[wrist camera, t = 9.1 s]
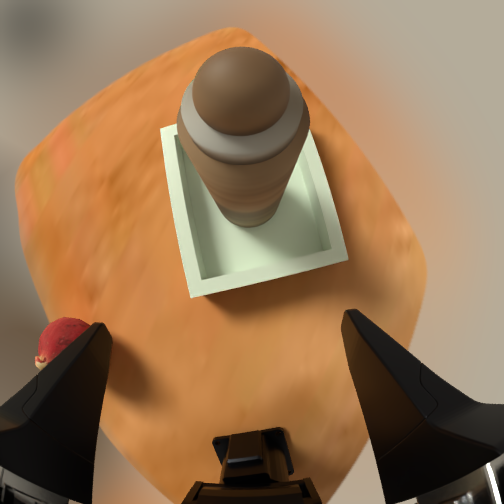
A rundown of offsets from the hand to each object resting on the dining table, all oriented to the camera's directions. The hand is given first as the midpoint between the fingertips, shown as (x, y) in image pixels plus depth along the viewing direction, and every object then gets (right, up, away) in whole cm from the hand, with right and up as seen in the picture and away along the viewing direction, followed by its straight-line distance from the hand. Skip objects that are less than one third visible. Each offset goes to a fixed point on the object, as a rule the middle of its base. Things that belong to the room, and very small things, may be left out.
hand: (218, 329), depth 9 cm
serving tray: (+1, +7, +13) cm, 14 cm away
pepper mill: (+1, +7, +12) cm, 13 cm away
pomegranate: (-14, -6, +12) cm, 19 cm away
